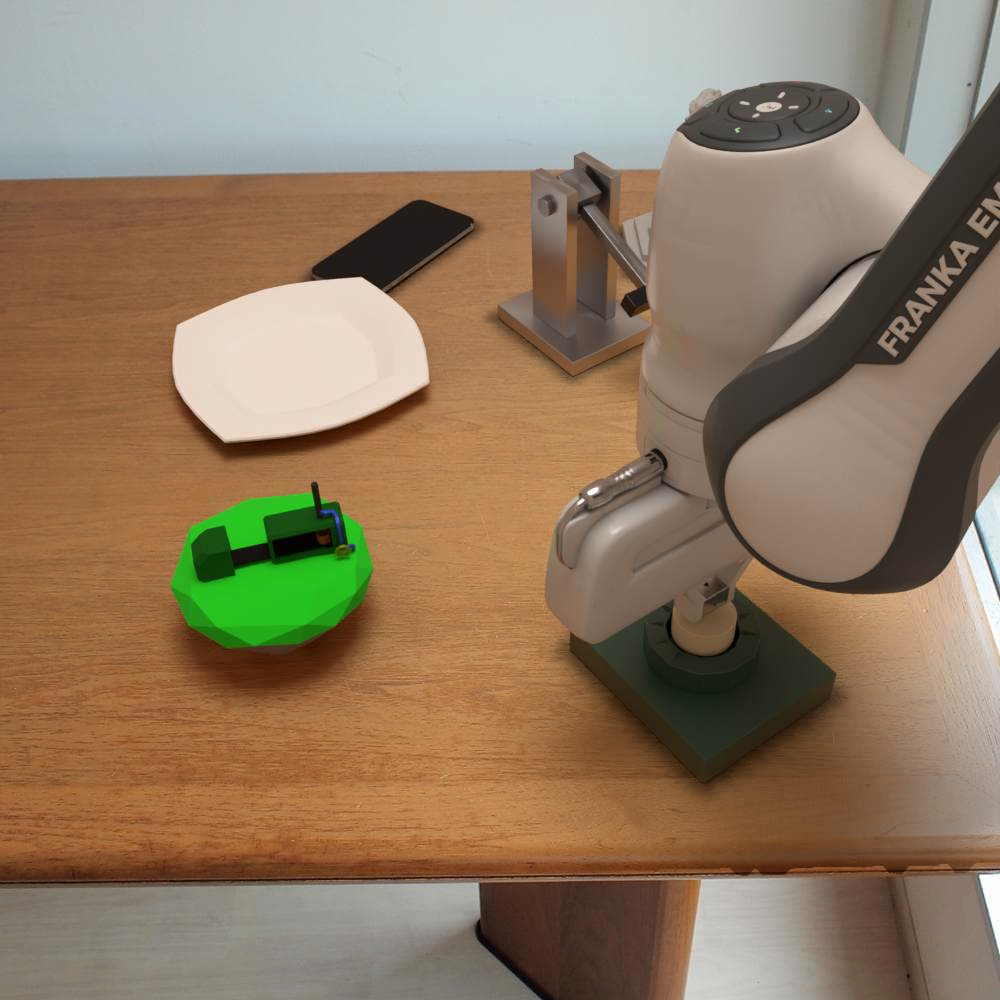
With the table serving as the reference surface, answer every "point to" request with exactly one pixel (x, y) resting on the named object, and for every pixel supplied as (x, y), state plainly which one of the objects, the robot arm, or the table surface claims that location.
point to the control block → (710, 684)
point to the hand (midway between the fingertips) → (703, 605)
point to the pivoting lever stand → (573, 277)
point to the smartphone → (396, 245)
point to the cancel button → (705, 631)
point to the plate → (298, 359)
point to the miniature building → (272, 572)
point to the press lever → (609, 238)
